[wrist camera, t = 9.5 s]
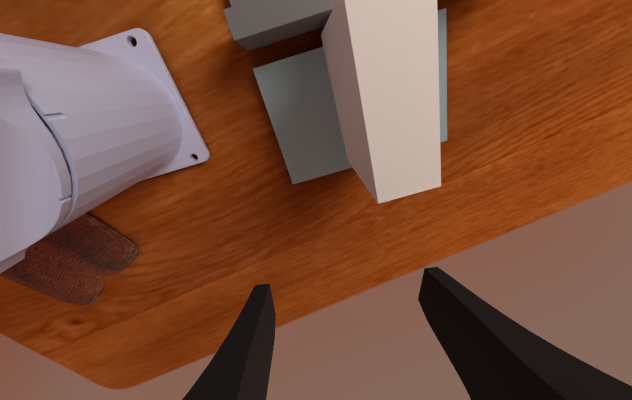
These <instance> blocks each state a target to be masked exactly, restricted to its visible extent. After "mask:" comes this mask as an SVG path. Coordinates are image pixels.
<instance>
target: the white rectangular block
mask: <svg viewBox="0 0 632 400" xmlns="http://www.w3.org/2000/svg"><path fill="white" fill-rule="evenodd" d="M321 39H322V43H323V48H324V53H325V57H326V62H327V67H328V71H329V76H330V81H331V85H332V90H333V94H334V99H335V104H336V108H337V113H338V118H339V122H340V127H341V132H342V136H343V141H344V145H345V150H346V155H347V159H348V162H349V163H350V165H351V166H352V168H353V169H354V170H355V172H356V173H357V175H358V176H359V177H360V179H361V180H362V182H363V183H364V184H365V186H366V187H367V189H368V190H369V191H370V193H371V194H372V195H373V197H374V198H375V200H376V201H377V202H378V204H379V203H382V202H386V201H389V200H393V199H397V198H400V197H404V196H407V195H411V194H415V193H418V192H422V191H426V190H429V189H433V188H436V187H440V186H441V157H440V107H439V58H438V9H437V0H337V1H336V3H335V5H334V7H333V10H332V12H331V14H330V16H329V18H328V21H327V23H326V25H325V27H324V29H323V31H322V34H321Z"/></svg>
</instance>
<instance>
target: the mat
mask: <svg viewBox="0 0 632 400" xmlns="http://www.w3.org/2000/svg"><path fill="white" fill-rule="evenodd" d="M438 58H439V107H440V142H443V141H447V53H446V8H444V9H441V10H438ZM253 71H254V74H255V77H256V80H257V83H258V86H259V88H260V91H261V94H262V97H263V100H264V103H265V106H266V109H267V111H268V114H269V117H270V120H271V123H272V126H273V129H274V132H275V134H276V137H277V140H278V143H279V146H280V149H281V152H282V155H283V157H284V160H285V163H286V166H287V169H288V172H289V175H290V178H291V180H292V183H293V184H296V183H300V182H303V181H307V180H310V179H314V178H317V177H321V176H324V175H328V174H331V173H335V172H338V171H342V170H345V169H349V168H352V166H351V165H350V163H349V162H348V159H347V155H346V150H345V145H344V141H343V136H342V132H341V127H340V122H339V118H338V113H337V108H336V104H335V99H334V94H333V90H332V85H331V81H330V76H329V71H328V67H327V62H326V57H325V53H324V48H323V47H320V48H317V49H314V50H311V51H308V52H304V53H301V54H298V55H295V56H292V57H288V58H285V59H282V60H279V61H276V62H273V63H269V64H266V65H263V66H260V67H257V68H253Z"/></svg>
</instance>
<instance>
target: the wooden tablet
mask: <svg viewBox="0 0 632 400" xmlns="http://www.w3.org/2000/svg"><path fill="white" fill-rule="evenodd" d="M137 255H138V248H137V245H136V244H134V243H133V242H131V241H130V240H128V239H127V238H125V237H124V236H123V235H121V234H119V233H118V232H116V231H115V230H113V229H111V228H110V227H108V226H106V225H105V224H103V223H102V222H100V221H99V220H97V219H95V218H94V217H92V216H90V215H89V214H87V213H85V214H83V215H81V216H80V217H78V218H76V219H74V220H73V221H71V222H69V223H68V224H66V225H64V226H63V227H61V228H59V229H57V230H56V231H54V232H52V233H50V234H49V235H47V236H45V237H44V238H42V239H40V240H39V241H37V242H35V243H34V244H32V245H30V246H29V247H28V248H27V249H26V252H25V258H24V259H23V260H21V261H19V262H18V263H16V264H15V265H13V266H11V267H10V268H8V269H7V270H5V271H3V272H2V273H0V276H2V277H5V278H7V279H10V280H12V281H15V282H17V283H19V284H22V285H24V286H26V287H29V288H31V289H34V290H37V291H39V292H42V293H44V294H47V295H50V296H52V297H55V298H58V299H60V300H63V301H66V302H70V303H74V304H78V305H85V304H89V303H91V302H94V301H95V300H96V299H97V298H98V296H99V294H100V292H101V291H102V289H103V288H104V280H103V276H105V275H112V274H116V273H117V272H120V271H121V270H123V269H124V268H126V267H127V266H128V265H129V264H130V263H131V262H132V261H134V259H135V258H136V256H137Z"/></svg>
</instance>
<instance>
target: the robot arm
mask: <svg viewBox="0 0 632 400" xmlns="http://www.w3.org/2000/svg"><path fill="white" fill-rule="evenodd" d="M133 37H134V38H135V39H136V41H137V45H136V46H135V47H134V46H133V45H132V42H131V39H132V38H133ZM192 154H196V155H197V156H198V159H194V158H193V156H192ZM209 156H210V154H209V151H208V149H207V147H206V145H205V143H204V141H203V139H202V137H201V135H200V133H199V131H198V129H197V127H196V125H195V123H194V121H193V119H192V117H191V115H190V113H189V111H188V109H187V107H186V105H185V103H184V101H183V99H182V97H181V95H180V93H179V91H178V89H177V87H176V85H175V83H174V81H173V79H172V77H171V75H170V73H169V71H168V69H167V67H166V65H165V63H164V61H163V59H162V57H161V55H160V53H159V51H158V49H157V47H156V45H155V43H154V41H153V39H152V37H151V35H150V34H149V33H148V32H147V31H145V30H143V29H140V28H135V29H132V30H128V31H125V32H122V33H119V34H116V35H113V36H110V37H107V38H104V39H101V40H98V41H95V42H92V43H89V44H86V45H83V46H80V47H77V48H76V47H71V46H66V45H60V44H55V43H50V42H45V41H39V40H34V39H29V38H23V37H18V36H13V35H8V34H2V33H0V273H2V272H3V271H5V270H7V269H8V268H10V267H11V266H13V265H15V264H16V263H18V262H19V261H21V260H23V259H24V258H25V252H26V249H27V248H28V247H29V246H30V245H32V244H34V243H35V242H37V241H39V240H40V239H42V238H44V237H45V236H47V235H49V234H50V233H52V232H54V231H56V230H57V229H59V228H61V227H63V226H64V225H66V224H68V223H69V222H71V221H73V220H74V219H76V218H78V217H80V216H81V215H83V214H85V213H86V212H88V211H90V210H91V209H93V208H95V207H97V206H98V205H100V204H102V203H103V202H105V201H107V200H108V199H110V198H112V197H114V196H115V195H117V194H119V193H120V192H122V191H124V190H125V189H127V188H129V187H131V186H132V185H134V184H136V183H137V182H139V181H141V180H145V179H148V178H152V177H155V176H158V175H162V174H165V173H168V172H172V171H175V170H179V169H182V168H185V167H189V166H192V165H195V164H199V163H202V162H205V161H207V160H208V159H209ZM418 300H419V302H420V305H421V307H422V310H423V312H424V314H425V316H426V319H427V321H428V322H429V325H430V326H431V328H432V330H433V332H434V333H435V335H436V337H437V339H438V340H439V342H440V344H441V345H442V347H443V349H444V351H445V352H446V354H447V355H448V357H449V359H450V361H451V363H452V364H453V366H454V368H455V369H456V371H457V373H458V375H459V377H460V378H461V380H462V382H463V384H464V386H465V388H466V390H467V392H468V394H469V396H470V398H471V400H632V386H630V385H628V384H626V383H624V382H622V381H620V380H618V379H616V378H614V377H612V376H610V375H608V374H606V373H604V372H602V371H600V370H598V369H596V368H594V367H592V366H591V365H589V364H587V363H585V362H583V361H581V360H579V359H577V358H576V357H574V356H572V355H570V354H568V353H566V352H565V351H563V350H561V349H559V348H557V347H555V346H554V345H552V344H551V343H549V342H547V341H546V340H544V339H542V338H540V337H539V336H537V335H535V334H534V333H532V332H530V331H529V330H527V329H526V328H524V327H522V326H521V325H519V324H518V323H516V322H514V321H513V320H512V319H510V318H509V317H507V316H505V315H504V314H502V313H501V312H499V311H498V310H497V309H495V308H494V307H492V306H491V305H489V304H488V303H486V302H485V301H484V300H482V299H481V298H479V297H478V296H477V295H475V294H474V293H472V292H471V291H470V290H468V289H467V288H466V287H464V286H463V285H461V284H460V283H459V282H457V281H456V280H455V279H453V278H452V277H451V276H449V275H448V274H446V273H445V272H444V271H442V270H441V269H439V268H438V267H434V268H425V269H424V274H423V279H422V283H421V288H420V293H419V298H418ZM275 315H276V314H275V309H274V304H273V299H272V294H271V289H270V284H262V285H256V286H255V287H254V288H253V290H252V292H251V294H250V296H249V298H248V300H247V302H246V304H245V306H244V308H243V310H242V312H241V313H240V315H239V317H238V319H237V320H236V322H235V324H234V326H233V327H232V329H231V331H230V332H229V334H228V336H227V337H226V339H225V340H224V342H223V343H222V345H221V347H220V348H219V350H218V351H217V353H216V354H215V356H214V357H213V359H212V360H211V362H210V363H209V365H208V366H207V367H206V369H205V370H204V372H203V373H202V374H201V376H200V377H199V379H198V380H197V381H196V383H195V384H194V386H193V387H192V388H191V389H190V391H189V392H188V393H187V394H186V396H185V397H184V398H183V400H266V395H267V388H268V381H269V373H270V367H271V360H272V353H273V346H274V338H275Z"/></svg>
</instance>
